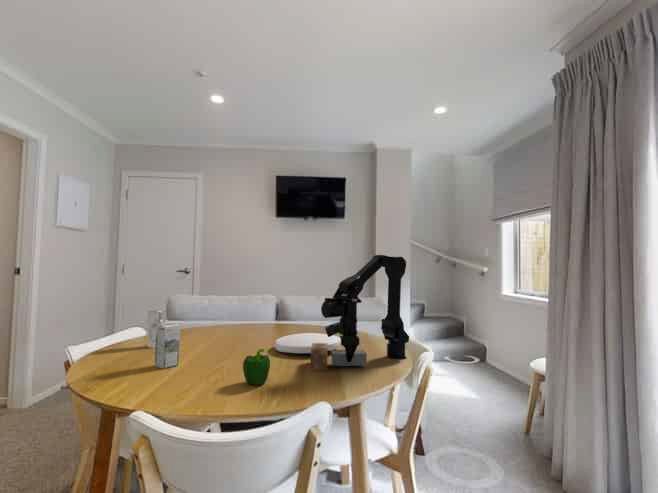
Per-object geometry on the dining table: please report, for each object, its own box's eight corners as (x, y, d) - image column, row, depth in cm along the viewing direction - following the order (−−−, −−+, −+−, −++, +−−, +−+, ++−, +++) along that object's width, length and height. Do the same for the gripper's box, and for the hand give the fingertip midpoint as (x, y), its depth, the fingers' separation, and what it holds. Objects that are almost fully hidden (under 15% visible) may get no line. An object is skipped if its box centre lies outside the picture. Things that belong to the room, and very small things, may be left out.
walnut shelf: (327, 361, 131) (327, 343, 131) (327, 371, 119) (327, 351, 120) (312, 361, 131) (312, 343, 131) (310, 371, 119) (310, 350, 120)
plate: (266, 344, 137) (282, 331, 164) (267, 361, 137) (283, 345, 163) (337, 339, 135) (341, 327, 161) (338, 356, 134) (342, 341, 161)
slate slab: (363, 360, 128) (363, 349, 129) (366, 365, 122) (366, 353, 123) (330, 360, 128) (331, 349, 128) (332, 365, 122) (332, 354, 122)
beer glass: (149, 344, 154) (151, 310, 155) (166, 344, 155) (167, 310, 155) (143, 348, 147) (144, 312, 148) (160, 348, 148) (161, 312, 148)
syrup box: (169, 362, 127) (171, 322, 128) (179, 365, 123) (180, 324, 124) (154, 366, 122) (155, 324, 123) (163, 369, 119) (165, 326, 119)
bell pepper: (249, 389, 101) (250, 354, 102) (238, 381, 108) (239, 349, 108) (275, 384, 106) (276, 350, 106) (263, 376, 113) (264, 345, 113)
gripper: (326, 311, 135) (326, 352, 134) (326, 319, 116) (325, 367, 116) (355, 312, 135) (355, 352, 134) (359, 320, 116) (359, 367, 116)
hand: (348, 359), depth 125 cm, fingers closed on slate slab, 6 cm apart
